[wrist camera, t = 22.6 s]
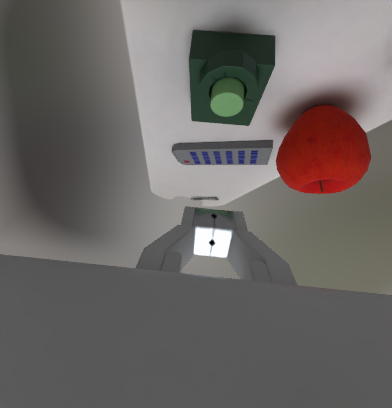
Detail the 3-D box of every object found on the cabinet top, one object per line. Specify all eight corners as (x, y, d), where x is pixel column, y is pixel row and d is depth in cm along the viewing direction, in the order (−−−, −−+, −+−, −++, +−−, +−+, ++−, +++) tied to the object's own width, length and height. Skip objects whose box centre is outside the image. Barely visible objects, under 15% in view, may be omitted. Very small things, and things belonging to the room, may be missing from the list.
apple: (269, 134, 37) (268, 199, 34) (293, 84, 26) (294, 174, 23) (333, 136, 36) (338, 204, 33) (388, 84, 25) (403, 181, 22)
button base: (192, 16, 20) (186, 62, 18) (280, 22, 19) (280, 69, 18) (194, 99, 30) (190, 132, 29) (250, 104, 30) (248, 137, 29)
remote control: (267, 157, 47) (267, 165, 46) (180, 159, 52) (179, 166, 51) (272, 139, 39) (272, 149, 39) (170, 143, 44) (169, 152, 44)
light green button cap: (213, 74, 20) (211, 91, 19) (247, 77, 19) (247, 94, 19) (210, 101, 23) (209, 115, 23) (240, 103, 23) (239, 118, 23)
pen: (219, 197, 86) (218, 200, 85) (190, 197, 90) (190, 200, 90) (218, 196, 85) (218, 200, 84) (189, 196, 90) (189, 199, 89)
